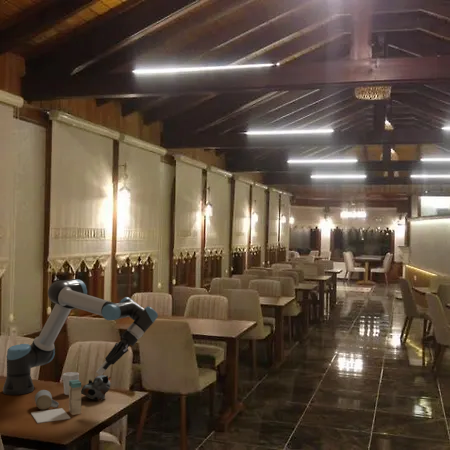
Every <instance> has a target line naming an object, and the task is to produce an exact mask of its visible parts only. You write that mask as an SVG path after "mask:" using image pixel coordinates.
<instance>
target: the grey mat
mask: <svg viewBox="0 0 450 450" xmlns="http://www.w3.org/2000/svg"><path fill="white" fill-rule="evenodd" d="M30 414H31V416H32V418H33V419H34V420H35V422H36V423H37V424H43V423H51V422H57V421H63V420H70V419H71V416H70V415H69V414H68V413H67V412H66V410H64V408H62V407H61V408H54V409H46V410H40V411H32V412H30Z"/></svg>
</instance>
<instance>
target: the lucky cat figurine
mask: <svg viewBox="0 0 450 450" xmlns="http://www.w3.org/2000/svg"><path fill="white" fill-rule="evenodd" d="M111 378H112V377H111V376H109V375H104V374H102V375H101V376H100V375H98V376H96V377H94V379H93V380H92V379H91V378H90V379H88V383H87V384H85V385H83V386H82V387H81V395H84V396H85V397H87V398H88V399H91V400H93V401H96V402H100V401H103V400H104V399H105V397H106V394H107V393H108V391H109V390H111V386H112V385H111V384H112V380H111Z"/></svg>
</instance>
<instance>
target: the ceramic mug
mask: <svg viewBox="0 0 450 450" xmlns="http://www.w3.org/2000/svg"><path fill="white" fill-rule="evenodd" d="M34 401H35V405H36V407H37V408H38V409H39V410H40V411H45V410H49V408H50V407H52V408H54V409H58V408H59V405H60V403H59V402H58V401H57V400H54V399H53V396H52V394H51V392H50V390H46V389H40V390H38V392H36V394H35V397H34Z"/></svg>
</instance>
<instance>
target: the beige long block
mask: <svg viewBox="0 0 450 450" xmlns="http://www.w3.org/2000/svg"><path fill="white" fill-rule="evenodd" d="M81 390H82V382H81V381H80V379H79V380H71V381H69V395H68V398H69V399H68V412H69V413H70V415H72V416H74V415H80V414H82V394H81Z"/></svg>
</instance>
